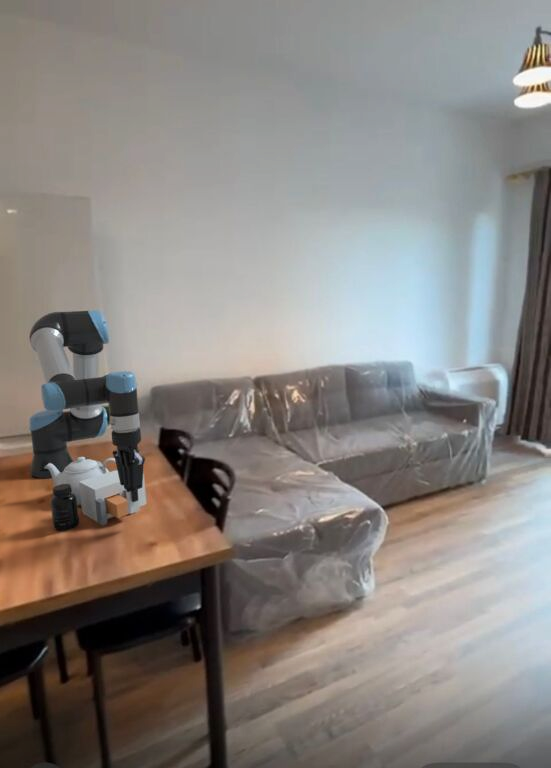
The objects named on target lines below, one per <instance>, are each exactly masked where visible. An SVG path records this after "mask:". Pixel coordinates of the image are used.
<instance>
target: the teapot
mask: <svg viewBox="0 0 551 768" xmlns="http://www.w3.org/2000/svg"><path fill="white" fill-rule="evenodd" d="M109 462H113V463H115V464H116V461H115V458H114V457H109V458H106V459H105V460H104V461H103V462H100V461H98V460H94V459H88V458H87V459H86V457H85V456H79V457H77V458H76V460H75V461H74V460H73V462H72V463H70V464H69V465H68V466H67V467H65V469H64V471H63V472H62V473H61V472H59V471H58V469H57V468H56V467H55V466H54V465H53V464H51V463H49V464H48V465H46V466H45V467H44V468H45V469H48V470H49V471H50V473H51V475H52V477H51V478H52V481H53V484H54V487H55V486H57V485H60V484H70V485H71V489H72V492H71V493H74V494H75V495H76V498H77V506H78V507H79V506H80V507H82V505H81V496H80V487H79V482H80V481H83V480H86V479H89V478H93V477H96V476H99V475H102V474H106V473H109V472H110V471H109V470H108V468H107V467H106V466H107V463H109Z"/></svg>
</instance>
